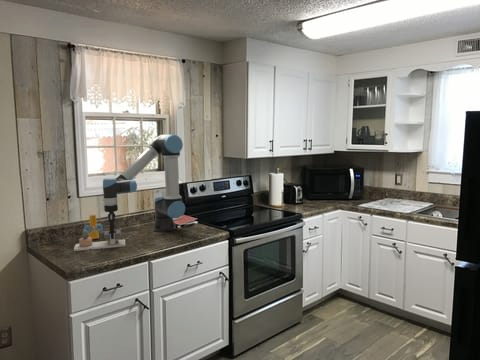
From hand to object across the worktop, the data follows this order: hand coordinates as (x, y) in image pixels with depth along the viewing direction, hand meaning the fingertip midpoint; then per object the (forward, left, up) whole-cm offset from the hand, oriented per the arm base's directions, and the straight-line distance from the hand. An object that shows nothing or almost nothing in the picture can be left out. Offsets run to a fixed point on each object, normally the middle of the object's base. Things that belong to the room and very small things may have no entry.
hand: (113, 241), depth 226 cm
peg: (+15, 0, -1) cm, 15 cm away
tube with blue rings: (+12, -20, -2) cm, 23 cm away
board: (+7, 0, -2) cm, 7 cm away
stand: (0, 0, -1) cm, 1 cm away
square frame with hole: (0, 0, +3) cm, 3 cm away
